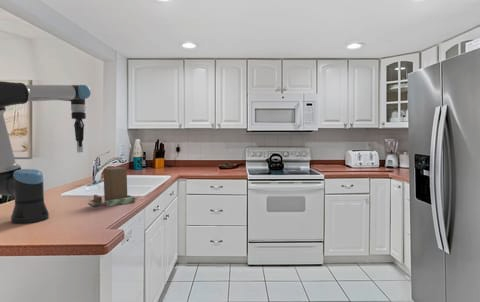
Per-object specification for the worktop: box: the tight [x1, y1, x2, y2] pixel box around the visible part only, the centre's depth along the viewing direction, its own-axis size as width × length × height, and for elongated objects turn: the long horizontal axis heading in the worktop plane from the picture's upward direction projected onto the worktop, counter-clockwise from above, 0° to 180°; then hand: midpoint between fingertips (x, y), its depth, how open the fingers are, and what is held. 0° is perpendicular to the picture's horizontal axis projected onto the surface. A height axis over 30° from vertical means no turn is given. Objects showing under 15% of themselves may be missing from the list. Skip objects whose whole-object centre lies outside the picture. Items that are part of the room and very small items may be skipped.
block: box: [103, 166, 128, 201], centre depth 200 cm, size 10×10×20 cm
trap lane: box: [88, 194, 138, 208], centre depth 202 cm, size 27×25×3 cm
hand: (80, 152), depth 201 cm, fingers closed
